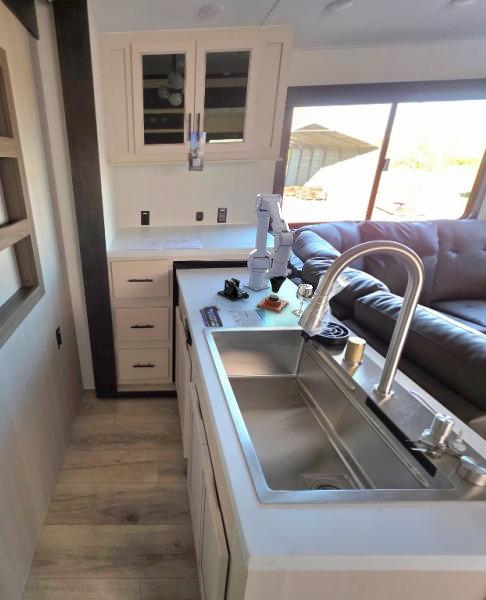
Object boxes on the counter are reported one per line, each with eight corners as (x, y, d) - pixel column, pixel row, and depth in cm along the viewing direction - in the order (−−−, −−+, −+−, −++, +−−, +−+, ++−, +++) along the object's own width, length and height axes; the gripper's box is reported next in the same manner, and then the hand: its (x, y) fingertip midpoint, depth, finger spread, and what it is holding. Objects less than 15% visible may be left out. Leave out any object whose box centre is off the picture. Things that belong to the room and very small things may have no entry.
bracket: (244, 298, 144) (246, 282, 141) (233, 301, 140) (235, 285, 137) (228, 291, 152) (230, 275, 148) (217, 293, 148) (219, 278, 145)
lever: (249, 299, 139) (251, 294, 137) (244, 301, 137) (246, 295, 135) (231, 284, 146) (233, 279, 144) (226, 285, 145) (228, 280, 143)
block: (267, 298, 143) (268, 292, 142) (287, 303, 138) (288, 297, 137) (257, 307, 135) (258, 300, 134) (278, 313, 130) (279, 306, 128)
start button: (270, 297, 138) (271, 293, 137) (279, 299, 136) (279, 296, 135) (267, 300, 135) (268, 296, 134) (276, 302, 133) (277, 298, 132)
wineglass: (300, 317, 126) (307, 289, 121) (288, 312, 130) (294, 285, 125) (310, 314, 128) (316, 287, 123) (298, 309, 133) (304, 282, 128)
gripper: (276, 266, 122) (271, 299, 127) (300, 261, 129) (294, 292, 134) (262, 262, 127) (257, 293, 133) (285, 257, 134) (279, 286, 140)
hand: (274, 292), depth 134 cm, fingers closed
